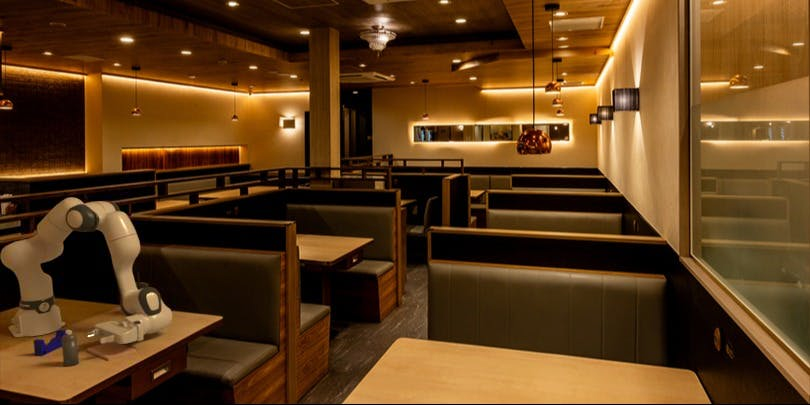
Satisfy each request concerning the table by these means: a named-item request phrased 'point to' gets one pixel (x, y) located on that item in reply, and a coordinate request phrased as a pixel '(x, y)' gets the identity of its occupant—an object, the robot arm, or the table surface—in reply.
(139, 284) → the drinking cup
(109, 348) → the board
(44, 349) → the blue u-shaped bracket
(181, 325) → the table surface
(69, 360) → the charger plug
